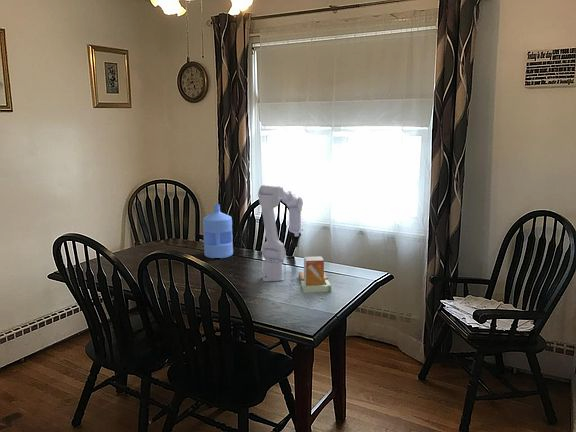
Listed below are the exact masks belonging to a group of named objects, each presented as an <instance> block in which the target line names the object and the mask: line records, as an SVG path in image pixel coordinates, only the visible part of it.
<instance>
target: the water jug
mask: <svg viewBox="0 0 576 432" xmlns="http://www.w3.org/2000/svg"><path fill="white" fill-rule="evenodd" d="M213 206H214V207H213V210H214V211H213V212H212V213H210V214H208V215H206V216H204V217H203V219H202V227H203V228H202V229H203V244H204V245H203V246H204V248H203V249H204V251H203V253H204V256H205V257H206V258H208V259H214V258H220V259H225V258H230V257H231V256H233V254H234V248H233V245H234V244H233V243H234V242H233V219H232V218H233V217H232V216H231V215H228V214H226V213H224V212H221V207H220V206H221V205H220V204H219V203H216V204H215V203H214V204H213Z"/></svg>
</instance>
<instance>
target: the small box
mask: <svg viewBox="0 0 576 432" xmlns="http://www.w3.org/2000/svg"><path fill="white" fill-rule="evenodd" d="M303 272H304V281H305V283H306V285H307V286H313V285H324V272H325V260H324V258H323V257H322V256H320V255H319V256H305V257H303Z"/></svg>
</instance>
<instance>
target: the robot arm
mask: <svg viewBox="0 0 576 432" xmlns="http://www.w3.org/2000/svg"><path fill="white" fill-rule="evenodd" d="M257 195H258V196H257V197H258V203H259V205H260V208H261V213H262V215H261V216H262V219H263V220H262V221H263V226H264V231H265V237H266V241H265V242H264V243H263V245H262V252H261V254H262V257H263V258H264V260H262V261H261V268H262V269H261V277H262V281H263V282H280V281H281V282H283V281H284V276H283V260H284V259H285V258H286V255H287V252H286V248H285V245H284V243H283V242H282V241H281V240H279V234H278V228H277V224H276V223H277V222H276V217H275V211H274V209H275V208H277V207H278V205H280V202H282V203H284V204H286V206H287V208H288V212H289V213H288V214H289V215H288V218H289V219H288V223H289V224H288V225H289V226H288V231H289V233H288V234H289V237H290V239H291V243H292V248H298V246H299V241H300V238H301V236H302V234H301V232H303V231H304V228H302V226H301V225H302V224H301V222H302V220H301V219H302V218H301V217H302V216H301V214H302V210H303V203H304V202H303V199H302V197H300V196H296V194H293V193H292V191H291V190H288V191H285V190H284V187H282V186H280V185H279V186H276V185H275V186H274V185H265V184H264V185H260V187H259V189H258V192H257Z"/></svg>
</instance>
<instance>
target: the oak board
mask: <svg viewBox="0 0 576 432" xmlns="http://www.w3.org/2000/svg"><path fill="white" fill-rule="evenodd" d="M298 278H299V280H300V282H301V281H304V271H299V272H298ZM324 280H328V281H329V277H328V276H327V274H326V272H325V271H324Z"/></svg>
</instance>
